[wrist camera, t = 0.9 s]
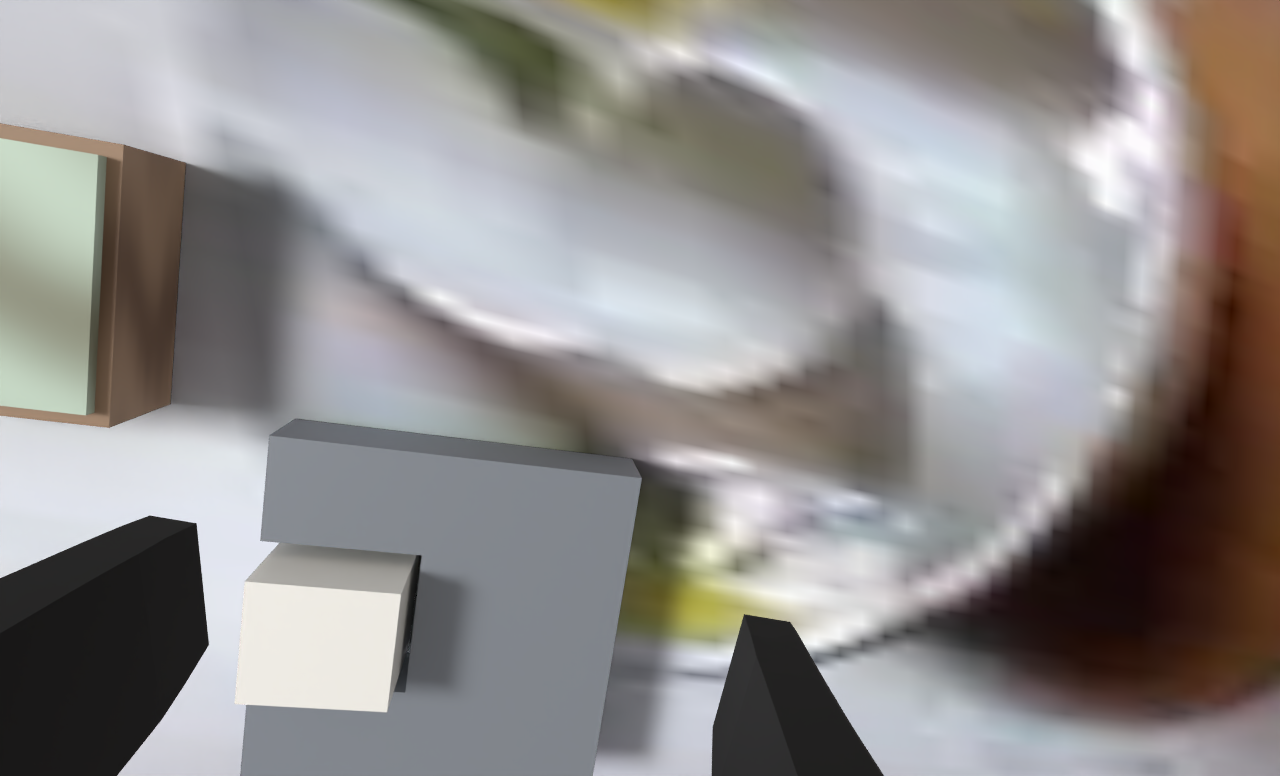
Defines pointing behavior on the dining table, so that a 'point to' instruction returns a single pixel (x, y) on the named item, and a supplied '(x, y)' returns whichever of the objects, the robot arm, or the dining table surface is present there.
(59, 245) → the walnut stand
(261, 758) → the slate notch board
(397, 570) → the cream block
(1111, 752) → the dining table surface
